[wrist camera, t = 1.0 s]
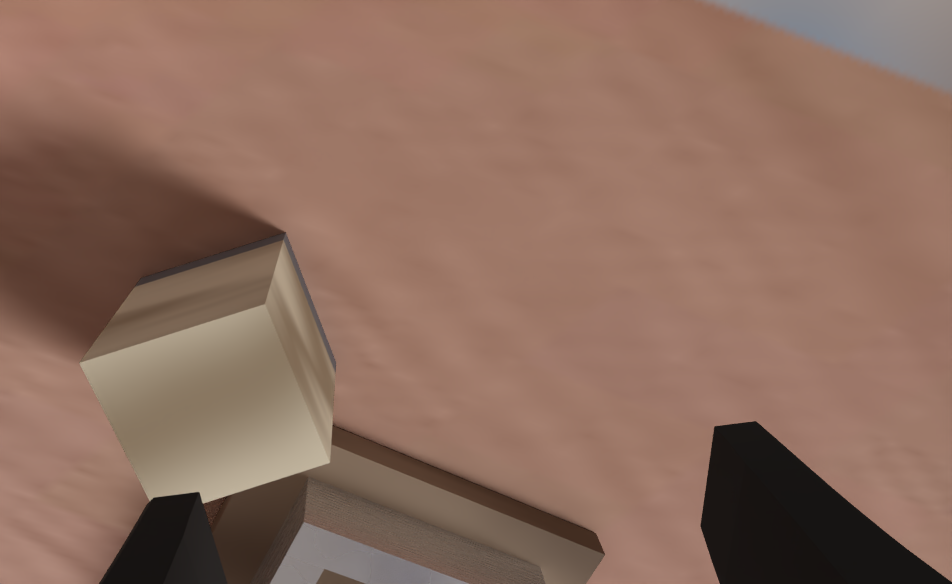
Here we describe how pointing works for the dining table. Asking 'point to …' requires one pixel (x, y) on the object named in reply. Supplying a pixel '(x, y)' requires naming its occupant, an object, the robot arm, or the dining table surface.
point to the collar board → (393, 528)
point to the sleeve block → (218, 374)
